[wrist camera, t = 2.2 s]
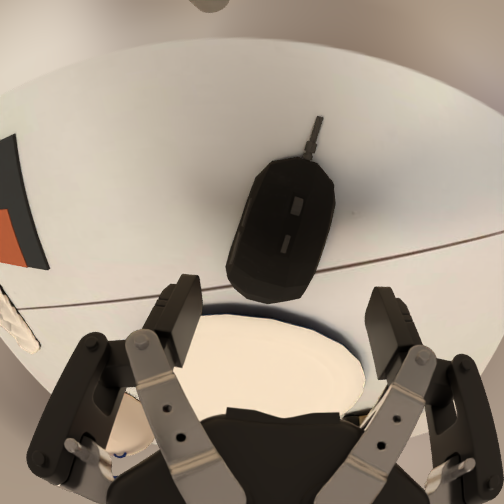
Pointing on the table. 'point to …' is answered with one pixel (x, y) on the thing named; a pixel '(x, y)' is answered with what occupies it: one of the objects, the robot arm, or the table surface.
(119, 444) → the kettle
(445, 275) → the table surface
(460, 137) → the table surface
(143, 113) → the table surface
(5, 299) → the cloth
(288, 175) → the gaming mouse
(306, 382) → the plate
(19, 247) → the mat
